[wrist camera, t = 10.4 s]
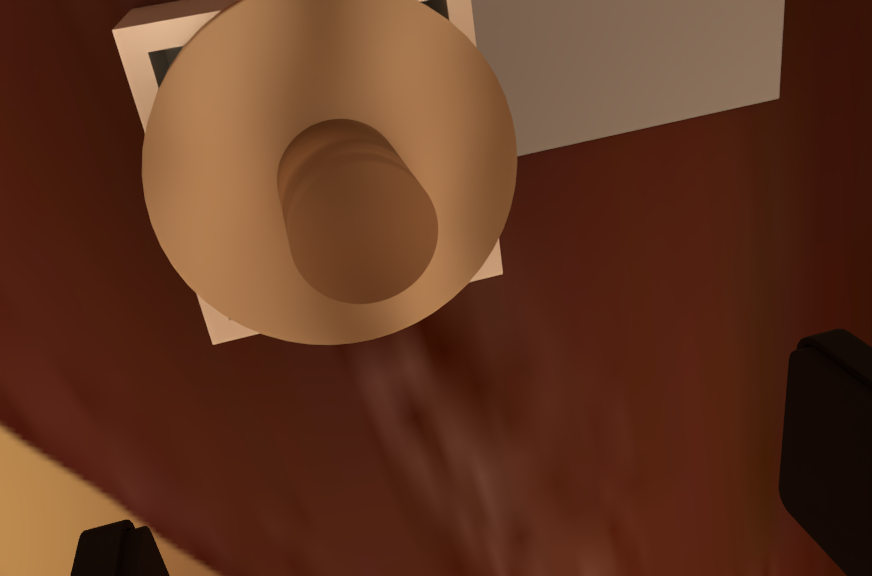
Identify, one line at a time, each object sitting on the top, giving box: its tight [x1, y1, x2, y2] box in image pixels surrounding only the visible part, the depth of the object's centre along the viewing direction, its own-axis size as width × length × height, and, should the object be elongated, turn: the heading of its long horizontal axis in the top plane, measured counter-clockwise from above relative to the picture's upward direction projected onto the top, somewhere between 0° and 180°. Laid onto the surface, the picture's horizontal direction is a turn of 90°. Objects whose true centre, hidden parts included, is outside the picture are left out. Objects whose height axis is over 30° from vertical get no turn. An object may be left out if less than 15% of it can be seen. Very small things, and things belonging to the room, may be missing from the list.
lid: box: [142, 0, 517, 345], centre depth 24 cm, size 12×12×6 cm
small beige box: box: [112, 0, 503, 345], centre depth 29 cm, size 11×11×6 cm
